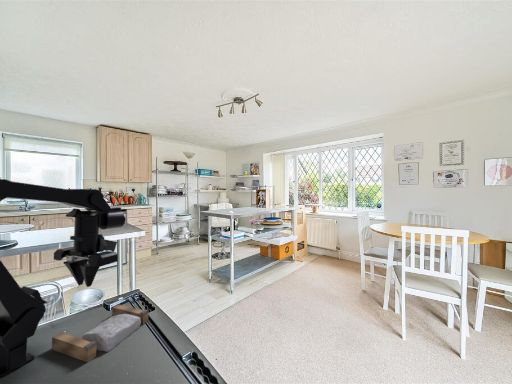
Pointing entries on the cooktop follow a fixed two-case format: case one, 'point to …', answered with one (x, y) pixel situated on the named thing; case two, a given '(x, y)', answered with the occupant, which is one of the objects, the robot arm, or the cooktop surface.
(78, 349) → the wooden blocks
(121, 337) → the stone block
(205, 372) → the cooktop surface
